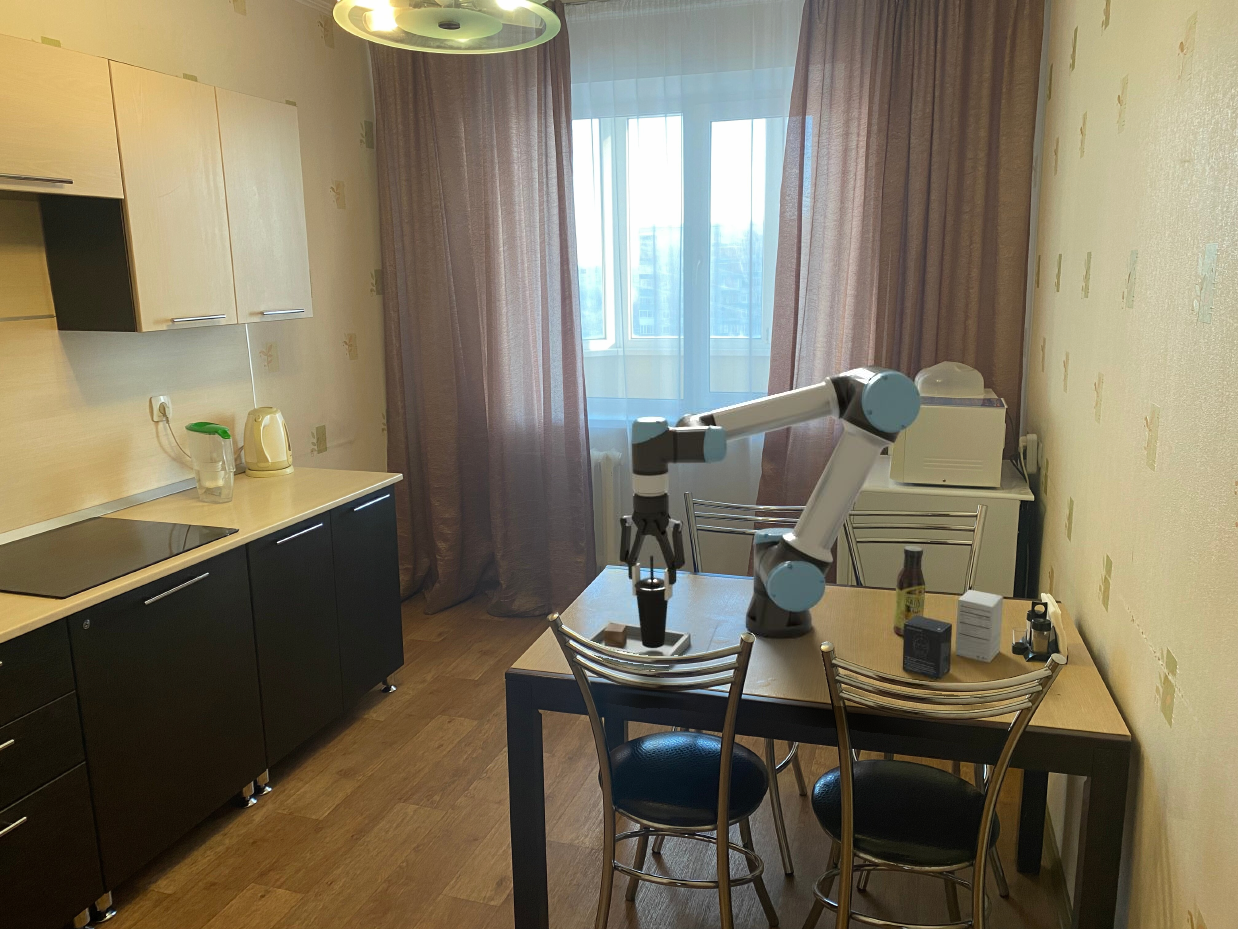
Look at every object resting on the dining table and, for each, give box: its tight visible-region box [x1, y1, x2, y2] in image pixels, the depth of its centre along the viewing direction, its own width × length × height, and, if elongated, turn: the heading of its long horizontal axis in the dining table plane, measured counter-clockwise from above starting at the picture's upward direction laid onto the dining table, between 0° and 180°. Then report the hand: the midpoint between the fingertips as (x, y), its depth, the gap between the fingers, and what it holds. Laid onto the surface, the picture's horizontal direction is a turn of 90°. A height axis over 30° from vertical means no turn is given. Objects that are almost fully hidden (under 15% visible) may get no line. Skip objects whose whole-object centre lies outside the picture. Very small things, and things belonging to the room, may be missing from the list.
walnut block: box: [604, 624, 627, 649], centre depth 199 cm, size 4×4×4 cm
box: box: [902, 615, 953, 681], centre depth 183 cm, size 8×6×11 cm
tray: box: [586, 620, 692, 669], centre depth 197 cm, size 20×14×3 cm
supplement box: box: [954, 589, 1004, 663], centre depth 191 cm, size 7×7×13 cm
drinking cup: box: [634, 555, 669, 648], centre depth 193 cm, size 8×8×20 cm
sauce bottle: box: [893, 545, 927, 636], centre depth 201 cm, size 7×6×20 cm
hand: (652, 595), depth 193 cm, fingers closed on drinking cup, 7 cm apart
